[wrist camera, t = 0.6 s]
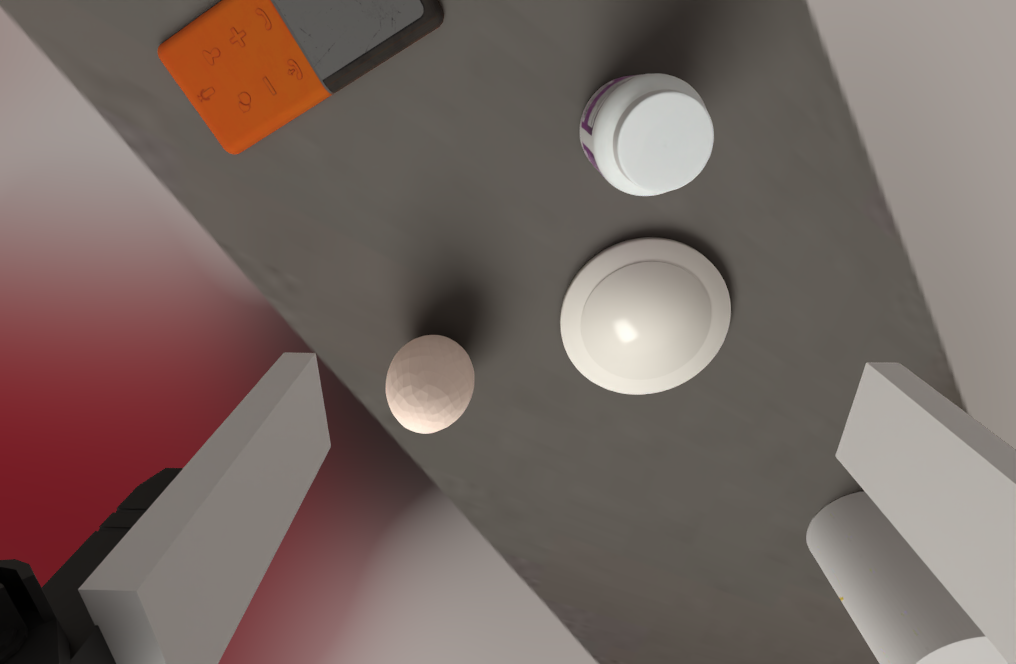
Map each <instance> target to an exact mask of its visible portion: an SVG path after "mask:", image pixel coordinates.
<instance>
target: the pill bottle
mask: <svg viewBox="0 0 1016 664" xmlns="http://www.w3.org/2000/svg"><path fill="white" fill-rule="evenodd" d="M580 140H581V144H582V148H583V150H584V152H585V154H586V156H587V158H588V159H589V161H590V162H591V163H592V164H593V165H594V167H595V168H596V169H597V170H598V171H599V172H600V173H601V175H602V176H603V177H604V178H605V179H606V180H607V181H608V182H609V183H610V184H611V185H613V186H614V187H615V188H617V189H619V190H621V191H623V192H625V193H628V194H632V195H637V196H653V195H658V194H662V193H665V192H668V191H671V190H675V189H678V188H680V187H682V186H684V185H686V184H687V183H689V182H690V181H692V180H693V179H694V178H695V177H696V176H697V175H698V174H699V173H700V172H701V171H702V169H703V168H704V166H705V165H706V163H707V161H708V159H709V157H710V154H711V151H712V147H713V141H714V130H713V124H712V121H711V118H710V115H709V113H708V112H707V110H706V107H705V104H704V102H703V100H702V99H701V97H700V96H699V94H698V93H697V92H696V91H695V89H694V88H693V87H691V86H690V85H689V84H688V83H686V82H685V81H683V80H681V79H679V78H677V77H674V76H671V75H667V74H661V73H653V74H650V73H648V74H642V75H632V76H624V77H620V78H617V79H614V80H612V81H610V82H608V83H606V84H605V85H603V86H602V87H601V88H599V89H598V90H597V91H596V92H595V93H594V94H593V96H592V97H591V98H590V100H589V101H588V103H587V105H586V107H585V109H584V111H583V114H582V117H581V122H580Z"/></svg>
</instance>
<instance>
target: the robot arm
mask: <svg viewBox="0 0 1016 664" xmlns="http://www.w3.org/2000/svg"><path fill="white" fill-rule="evenodd" d="M330 447H331V444H330V439H329V432H328V426H327V420H326V414H325V408H324V402H323V396H322V390H321V383H320V377H319V371H318V365H317V359H316V353H283V354H282V356H281V357H280V358H279V359H278V360H277V361H276V363H275V364H274V365H273V366H272V367H271V368H270V369H269V371H268V372H267V373H266V374H265V375H264V376H263V377H262V379H261V380H260V381H259V382H258V383H257V384H256V386H255V387H254V388H253V389H252V390H251V391H250V392H249V393H248V395H247V396H246V397H245V398H244V399H243V401H242V402H241V403H240V404H239V405H238V406H237V407H236V408H235V410H234V411H233V412H232V413H231V414H230V416H228V418H227V419H226V420H225V421H224V422H223V423H222V425H221V426H220V427H219V428H218V429H217V430H216V432H215V433H214V434H213V435H212V436H211V437H210V438H209V440H208V441H207V442H206V443H205V444H204V445H203V446H202V447H201V449H200V450H199V451H198V452H197V453H196V455H195V456H194V457H193V458H192V459H191V460H190V461H189V462H188V464H187V465H186V466H185V467H184V468H165V469H164V470H162V471H160V472H159V473H157V474H156V475H154V476H153V477H151V478H150V479H148V480H147V481H145V482H143V483H142V484H140V485H139V486H138V487H137V488H135V490H134V491H133V492H132V493H131V494H130V495H129V496H128V497H127V498H126V499H125V500H124V501H123V502H122V503H121V504H120V505H119V506H118V508H117V511H116V513H112V514H111V515H110V516H109V517H108V518H107V519H106V520H105V521H104V523H102V525H101V526H100V529H99V531H95V532H94V533H93V534H92V535H91V536H90V537H89V538H88V539H87V540H86V541H85V542H84V544H83V545H82V546H81V547H80V548H79V549H78V550H77V551H76V552H75V553H74V554H73V555H72V556H71V557H70V558H69V559H68V561H67V562H66V563H65V564H64V565H63V566H62V567H61V568H60V569H59V570H58V571H57V572H56V573H55V574H54V575H53V576H52V578H50V580H49V581H48V582H47V583H46V584H45V585H44V586H43V587H42V588H41V586H40V584H39V583H38V581H37V579H36V577H35V575H34V573H33V571H32V569H31V567H30V565H29V564H27V563H24V562H21V561H18V560H15V559H13V560H0V664H218V663H219V661H220V659H221V657H222V655H223V653H224V651H225V649H226V647H227V645H228V643H229V641H230V640H231V638H232V636H233V634H234V632H235V630H236V628H237V626H238V624H239V622H240V620H241V618H242V616H243V615H244V613H245V611H246V609H247V607H248V605H249V603H250V601H251V599H252V597H253V595H254V593H255V591H256V590H257V588H258V586H259V584H260V581H261V580H262V578H263V576H264V574H265V572H266V570H267V568H268V566H269V565H270V563H271V561H272V559H273V557H274V555H275V553H276V551H277V549H278V547H279V545H280V543H281V541H282V539H283V538H284V536H285V534H286V532H287V530H288V528H289V526H290V524H291V522H292V520H293V518H294V516H295V514H296V513H297V511H298V509H299V507H300V505H301V503H302V501H303V499H304V497H305V495H306V493H307V491H308V489H309V487H310V486H311V484H312V482H313V480H314V478H315V476H316V474H317V472H318V470H319V468H320V466H321V464H322V463H323V461H324V459H325V457H326V455H327V453H328V451H329V449H330ZM836 458H837V459H838V460H839V461H840V462H841V464H842V465H843V466H844V467H845V468H846V469H847V471H848V472H849V473H850V474H851V475H852V477H853V478H854V479H855V480H856V481H857V483H858V484H859V485H860V486H861V487H862V489H863V490H864V491H865V492H866V493H867V495H868V496H869V497H870V498H871V499H872V501H873V502H874V503H875V504H876V505H877V507H878V508H879V509H880V510H881V511H882V513H883V514H884V515H885V516H886V517H887V519H888V520H889V521H890V522H891V523H892V525H893V526H894V527H895V528H896V529H897V530H898V532H899V533H900V534H901V535H902V536H903V538H904V539H905V540H906V541H907V542H908V544H909V545H910V546H911V547H912V548H913V550H914V551H915V552H916V553H917V554H918V556H919V557H920V558H921V559H922V560H923V562H924V563H925V564H926V565H927V566H928V568H929V569H930V570H931V571H932V572H933V574H934V575H935V576H936V577H937V578H938V580H939V581H940V582H941V583H942V584H943V586H944V587H945V588H946V589H947V590H948V592H949V593H950V594H951V595H952V596H953V597H954V599H955V600H956V601H957V602H958V603H959V605H960V606H961V607H962V608H963V609H964V611H965V612H966V613H967V614H968V615H969V617H970V618H971V619H972V620H973V621H974V623H975V624H976V625H977V626H978V627H979V629H980V630H981V631H982V632H983V633H984V635H985V636H986V637H987V638H988V639H989V641H990V642H991V643H992V644H993V645H994V647H995V648H996V649H997V650H998V651H999V653H1000V654H1001V655H1002V656H1003V657H1004V658H1005V660H1006V661H1007V662H1008V663H1009V664H1016V450H1015V449H1014V448H1013V447H1011V446H1010V445H1009V444H1007V443H1006V442H1005V441H1003V440H1002V439H1001V438H999V437H998V436H996V435H995V434H994V433H992V432H991V431H990V430H988V429H987V428H986V427H984V426H983V425H982V424H980V423H979V422H978V421H976V420H975V419H974V418H972V417H971V416H970V415H968V414H967V413H966V412H964V411H963V410H962V409H960V408H959V407H958V406H956V405H955V404H954V403H952V402H951V401H950V400H948V399H947V398H946V397H944V396H943V395H942V394H940V393H939V392H938V391H936V390H935V389H934V388H932V387H931V386H930V385H928V384H927V383H926V382H924V381H923V380H922V379H920V378H919V377H918V376H916V375H915V374H914V373H912V372H911V371H910V370H908V369H907V368H905V367H904V366H903V365H901V364H900V363H878V362H866V365H865V368H864V371H863V374H862V377H861V380H860V383H859V386H858V390H857V393H856V396H855V399H854V402H853V405H852V408H851V411H850V414H849V417H848V420H847V423H846V426H845V429H844V432H843V435H842V438H841V441H840V444H839V447H838V450H837V453H836Z"/></svg>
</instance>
